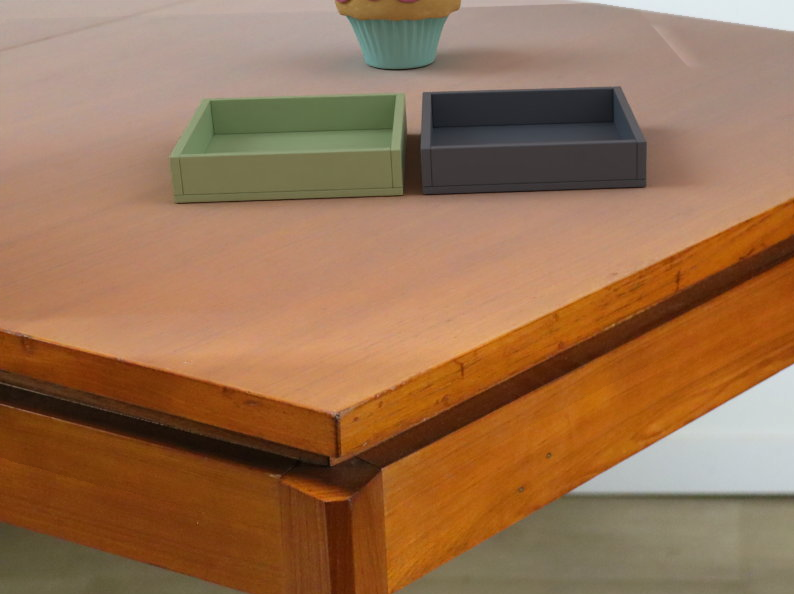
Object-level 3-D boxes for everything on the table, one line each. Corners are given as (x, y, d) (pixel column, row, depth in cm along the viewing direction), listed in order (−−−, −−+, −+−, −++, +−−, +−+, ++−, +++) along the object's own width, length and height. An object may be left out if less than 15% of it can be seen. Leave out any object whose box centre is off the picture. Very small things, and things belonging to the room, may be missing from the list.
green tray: (174, 203, 76) (168, 157, 75) (207, 139, 87) (202, 98, 86) (403, 195, 77) (400, 149, 76) (407, 133, 88) (405, 92, 87)
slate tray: (422, 194, 77) (420, 148, 76) (424, 132, 88) (422, 91, 87) (646, 187, 78) (646, 141, 77) (620, 126, 89) (620, 85, 88)
